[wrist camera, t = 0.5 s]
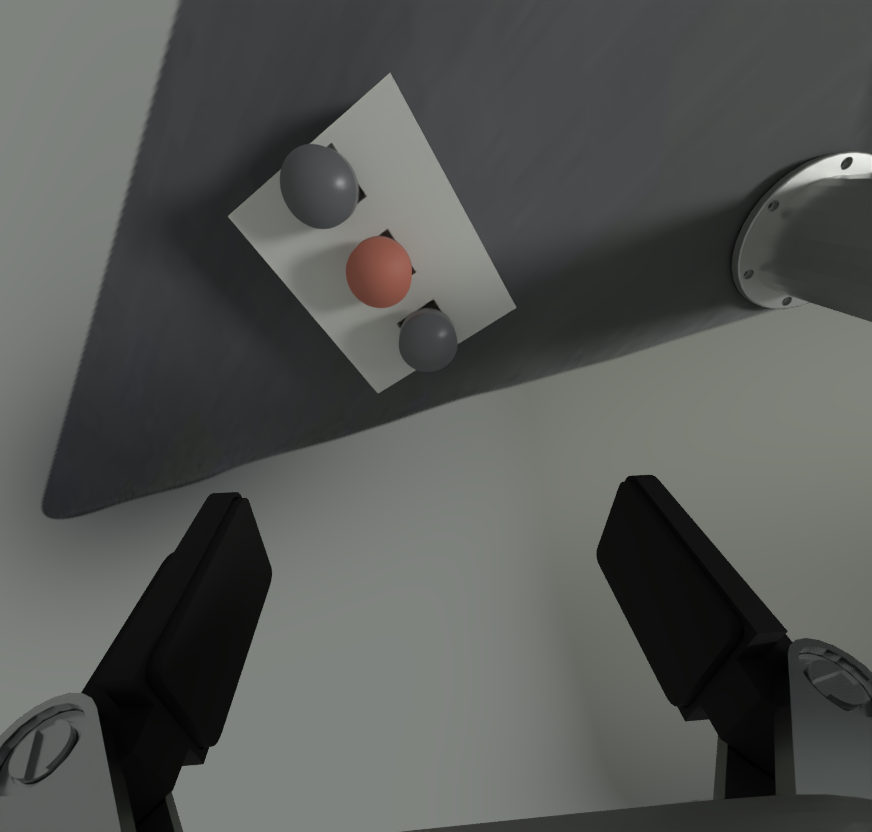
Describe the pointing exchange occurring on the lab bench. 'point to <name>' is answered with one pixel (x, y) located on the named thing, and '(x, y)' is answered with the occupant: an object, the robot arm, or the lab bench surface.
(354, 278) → the red knob
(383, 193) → the control box
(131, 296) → the lab bench surface
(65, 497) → the lab bench surface
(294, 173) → the grey knob
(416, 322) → the grey knob
